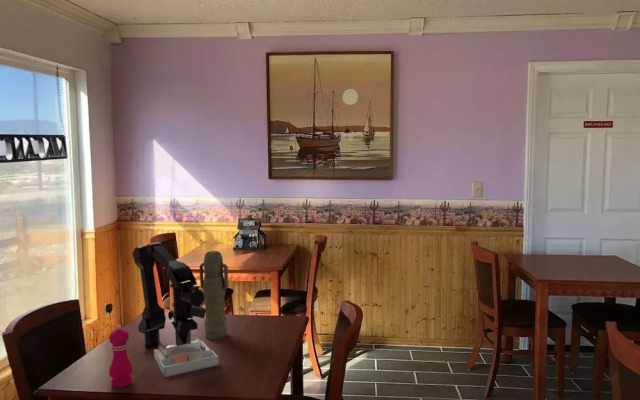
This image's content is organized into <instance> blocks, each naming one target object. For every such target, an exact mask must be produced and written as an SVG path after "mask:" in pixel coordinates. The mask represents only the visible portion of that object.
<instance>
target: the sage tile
mask: <svg viewBox="0 0 640 400" xmlns="http://www.w3.org/2000/svg"><path fill="white" fill-rule="evenodd" d="M187 357H188V360H189V361H193V360H198V359H202V356H201V353H200V352H195V353H190V354H187Z"/></svg>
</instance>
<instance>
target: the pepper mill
mask: <svg viewBox="0 0 640 400" xmlns="http://www.w3.org/2000/svg"><path fill="white" fill-rule="evenodd" d="M129 336H130V335H129V332H128V331H127V330H126V329H124V328H122V325H121V324H116V325H115V329H114V330H112V331H111V332H110V334H109V336H108V340H109V342H110V344H111V345H110V346H111V348H110V349H111V350H112V361H111V363H110V365H109V370H108V371H109V372H108V373H109V377H111V380H110V381H111V386H112V388H117V389H119V388H125V387H127V386H130V385H131V384H132V383H133V382H132V381H133V379H132V376H131V375H132V373H133V372H134V371H133V365H132V363H131V360H130V359H129V357H128V354H127V349H128V343H129V342H128V340H129V338H130V337H129Z"/></svg>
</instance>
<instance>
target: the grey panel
mask: <svg viewBox="0 0 640 400" xmlns="http://www.w3.org/2000/svg"><path fill="white" fill-rule="evenodd" d="M174 332H175V333H174V334H175V344H170V345H166V346H165V348H166V352H167V354H168V356H170V355H175V354H180V353H185V352H190V351H195V350H200V349H201V342H200V341H201V340H200V339H199V340H195V339H194V340H192V338H191V336H192V333H191V332H192V330H189V332H188V336H187V340H186V343H185V344H183V343H182V341H181V339H180V337H179V334H178V332H177V331H176V330H175V331H174Z"/></svg>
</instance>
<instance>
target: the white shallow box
mask: <svg viewBox="0 0 640 400" xmlns="http://www.w3.org/2000/svg"><path fill="white" fill-rule="evenodd" d="M195 340H200V339H199V338H198V337H194V341H195ZM200 342H201V349H200V350H195V351H190V352H185V353H180V354H175V355H170V356H168V354H167V352H166V347H164V346H163V344H162V345H158V347H157V349H156V348H155V349H153V358H154V359H155V361H156V363H157V364H158V365H159V360H161V361H166V360H171V359H173V357H175V356H180V355H185V354H186V356H187V354H190V353H195V352H200V353H205V352H210V351H211V349H210V347H209V346H207V344H206V343H204V341H203V340H200Z"/></svg>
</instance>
